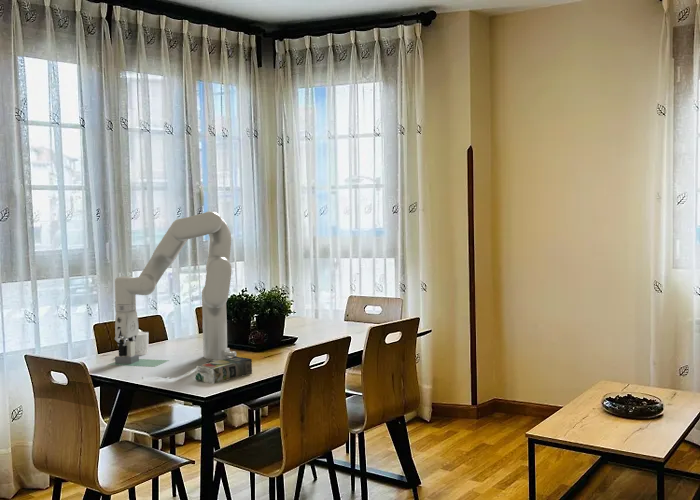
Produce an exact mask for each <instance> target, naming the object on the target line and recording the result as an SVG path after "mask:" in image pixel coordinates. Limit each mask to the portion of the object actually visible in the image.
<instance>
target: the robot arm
mask: <svg viewBox="0 0 700 500" xmlns="http://www.w3.org/2000/svg"><path fill="white" fill-rule="evenodd" d="M206 235H208V236H209V246H208V256H207V261H206V265H205V270H206V275H205V282H204V286H203V288H202V291H201V309H202V311H201V312H202V349H203V350H202V353H203V359H206V360H208V361H206V363H211V362H215V361H219V360H223V359H228V358H232V357H234V356H237V351H231V350H230V347H228V323H227V322H228V319H227V318H228V317H227V313H228V311H227V301H228V299H229V294H230V288H231V279H232V269H233V268H232V264H231V262H230V260H231V259H230V258H231V250H232V249H231V246H232V234H231V230H230V228H229V226H228V224H227V222H226V221H225V220H224V219H223V218H222V217H221V215H220V214H219V213H217V212H216V211H212V210H211V211H209V210H208V211H205V212H202V213H198V214H194V215H192V216H188V217H182V218H177V219H175V220H174V221H173V222H172V223H171V225H170V226H169V228H168V230H167V231H166V232H165V234H164V235H163V237H162V238H161V240H160V241H159V243H158V245H157V246H156V247H155V249H154V251H153V253H152V254H151V257H150V259H149V260H148V262H147V264H146V266H145V267H144V268H143V270H142V271H141V273H140V274H139V276H138V277H137V276H136V277H133V276H130V275H129V276H126V275H125V276H124V275H123V276H118V277H116V278H115V279H114V298H115V302H114V303H115V321H114V322H115V323H114V329H115V330H114V332H115V333H114V334H115V337H114V340H115V341H116V343H117V346H118V355H119V356H127V346H125V345H126V341H136V340H135V339H136V336H137V335H138V333H139V332H140V330H139V317H138V312H137V307H136V306H137V305H136V303H137V301H136V299H137V295H138V296H149V295H151V294H153V293H154V292H155V288H156V286H157V284H158V283H159V281H160V280H161V278H162V276H163V275H164V274H165V272H166V271H167V269H168V268H169V267H170V266H171V265H172V264H173V263H174V261H175V260H176V258H177V257H178V255H180V252H181V251H182V249H183V248H184V247H185V245H186V244H187V242H188V240H192V239H195V238H200V237H203V236H206ZM206 363H205V364H206Z"/></svg>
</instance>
